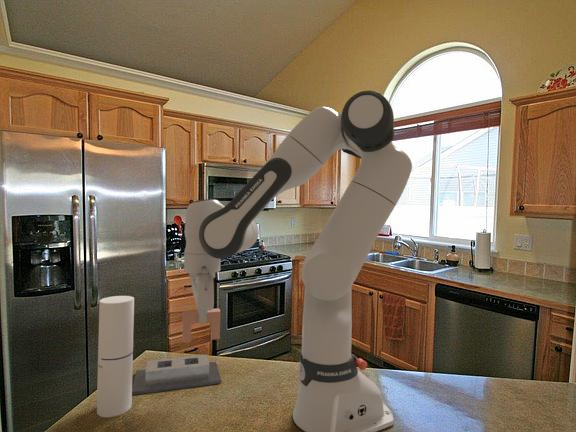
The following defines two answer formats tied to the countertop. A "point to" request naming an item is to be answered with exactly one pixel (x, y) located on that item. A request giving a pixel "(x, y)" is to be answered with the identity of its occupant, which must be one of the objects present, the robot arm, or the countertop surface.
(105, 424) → the countertop surface
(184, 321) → the clip
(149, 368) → the grey slotted holder
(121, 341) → the cylindrical container
